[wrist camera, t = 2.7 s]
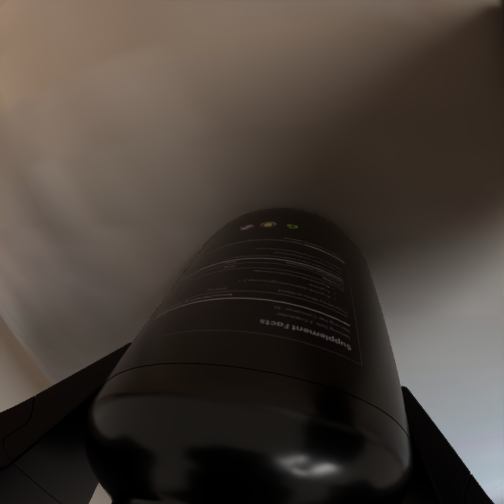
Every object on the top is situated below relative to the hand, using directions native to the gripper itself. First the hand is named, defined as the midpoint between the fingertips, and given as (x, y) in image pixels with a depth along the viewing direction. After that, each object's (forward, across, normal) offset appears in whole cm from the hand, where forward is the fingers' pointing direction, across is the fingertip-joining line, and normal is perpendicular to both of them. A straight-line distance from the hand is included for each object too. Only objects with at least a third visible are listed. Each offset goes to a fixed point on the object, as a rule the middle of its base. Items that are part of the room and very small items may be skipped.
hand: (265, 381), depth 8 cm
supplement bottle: (+5, 0, 0) cm, 5 cm away
